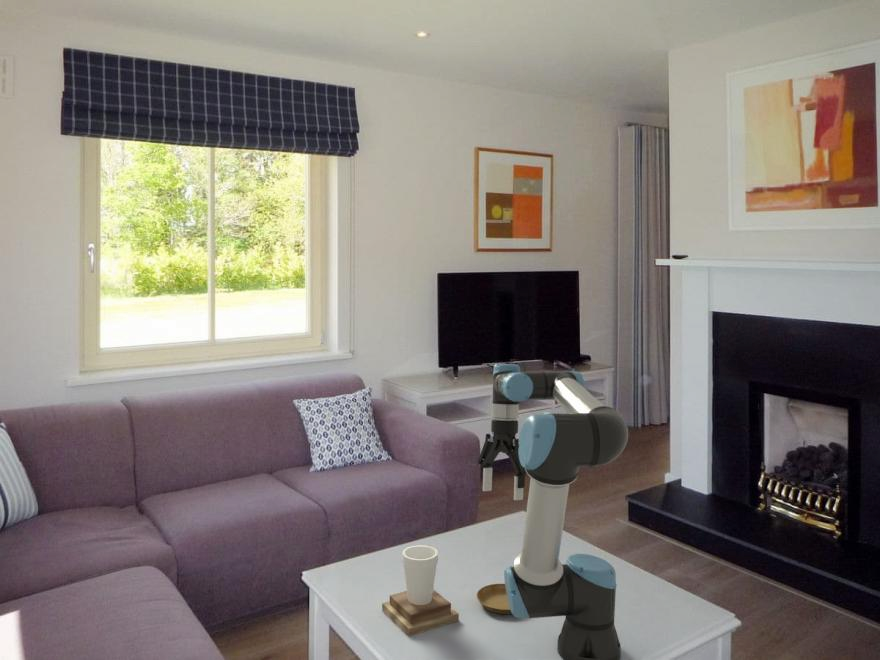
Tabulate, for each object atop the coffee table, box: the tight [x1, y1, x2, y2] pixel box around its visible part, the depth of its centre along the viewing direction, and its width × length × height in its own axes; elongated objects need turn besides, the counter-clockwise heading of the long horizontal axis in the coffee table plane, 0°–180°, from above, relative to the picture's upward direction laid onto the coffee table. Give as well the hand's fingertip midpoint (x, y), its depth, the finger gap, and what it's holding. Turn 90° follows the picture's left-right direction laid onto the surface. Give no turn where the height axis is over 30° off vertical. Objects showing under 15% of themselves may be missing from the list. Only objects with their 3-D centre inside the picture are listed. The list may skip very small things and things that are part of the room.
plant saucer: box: [476, 583, 512, 615], centre depth 200 cm, size 15×15×3 cm
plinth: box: [381, 588, 460, 637], centre depth 194 cm, size 15×15×4 cm
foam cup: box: [401, 544, 439, 605], centre depth 193 cm, size 10×9×13 cm
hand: (502, 495), depth 203 cm, fingers open, 13 cm apart
